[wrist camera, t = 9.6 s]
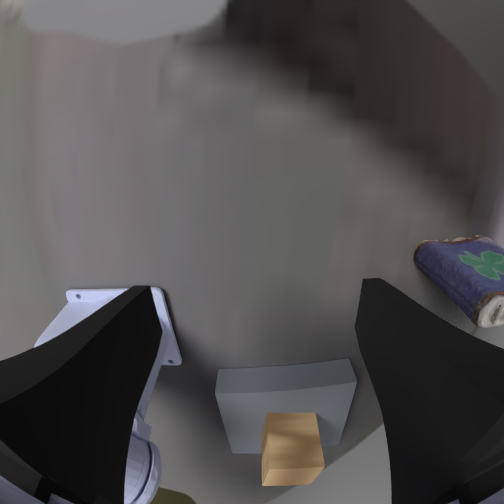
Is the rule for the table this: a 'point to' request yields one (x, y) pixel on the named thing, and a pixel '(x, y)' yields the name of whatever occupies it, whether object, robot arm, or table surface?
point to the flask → (467, 275)
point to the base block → (284, 399)
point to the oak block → (290, 449)
